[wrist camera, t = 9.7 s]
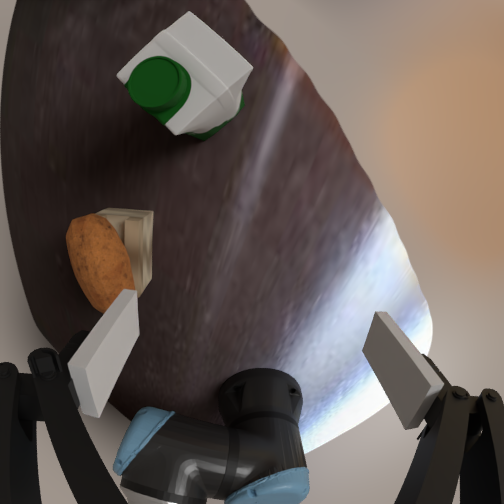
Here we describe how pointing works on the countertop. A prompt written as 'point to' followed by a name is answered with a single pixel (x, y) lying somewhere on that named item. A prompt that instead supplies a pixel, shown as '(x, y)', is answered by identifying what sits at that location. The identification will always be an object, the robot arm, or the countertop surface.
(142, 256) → the cradle
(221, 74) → the milk carton
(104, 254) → the potato
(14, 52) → the countertop surface
